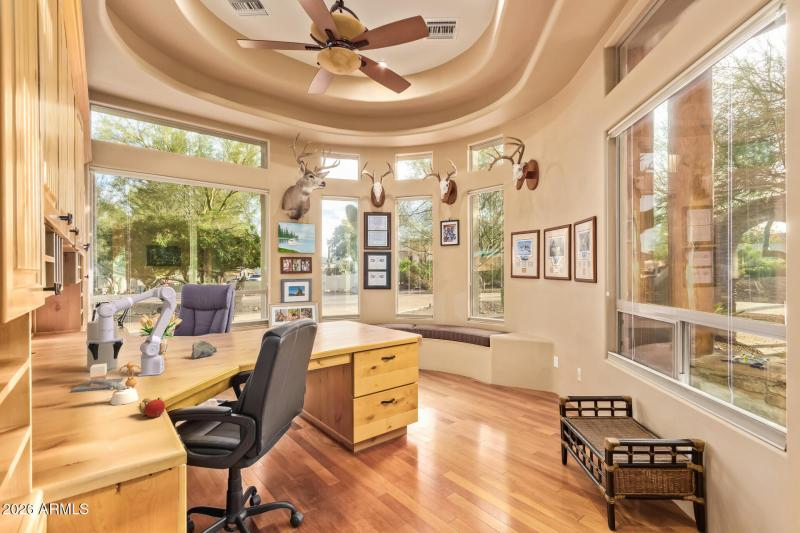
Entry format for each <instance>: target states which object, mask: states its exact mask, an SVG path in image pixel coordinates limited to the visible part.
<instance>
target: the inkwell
mask: <svg viewBox="0 0 800 533" xmlns="http://www.w3.org/2000/svg"><path fill="white" fill-rule="evenodd" d="M108 379H109V378H106V379H94V380H87V382H86V381H85V382H83V383H84V384H83V383H81V384H82V385H85V384H99V385H107V386H109V387H113V388H112V389H115V390H116V391H114V392H113V393H112V396H111V398H110V402H109V404H110V405H111V404H112V406H122V404H124V405H128V403H129V404H132V403H136V402H137V401H138V400H139V399H140V397H139V395H138V394H139V393H138V391H137V389H136V388H135V387H126V386H124V385H123V384H121V382H120V383H118V382H115V381H112V380H108ZM131 402H132V403H131Z"/></svg>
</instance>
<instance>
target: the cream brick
mask: <svg viewBox="0 0 800 533" xmlns="http://www.w3.org/2000/svg"><path fill="white" fill-rule="evenodd" d="M107 372H108V370H107V363H105V364H96V365H92V366H91V368H90V372H89V373H90V375H89V376H90V377H93V376H102V375H105V374H106V375H107Z"/></svg>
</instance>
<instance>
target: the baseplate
mask: <svg viewBox="0 0 800 533" xmlns="http://www.w3.org/2000/svg"><path fill="white" fill-rule="evenodd" d="M107 379H108V380H112V381H115V382H118V383H119V382H120V383H121V382H123V381H124V378H123V377H119V378H107ZM122 380H123V381H122ZM87 381H88V380H87ZM87 381H85V382H87ZM85 382H83V383H81V384H79V385H78V386H76V387H73V388H71V389H70V393H79V392H80V393H81V392H93V391H94V390H95V391H105V390H104V389H107V390H111V389H113V388H112V387H109V386H107V385H97V386H90V384H85V385H82V384H84V383H85Z"/></svg>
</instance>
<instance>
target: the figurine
mask: <svg viewBox="0 0 800 533" xmlns="http://www.w3.org/2000/svg"><path fill="white" fill-rule="evenodd" d="M133 367H137V369H139V370H140V372H141V371H142V370H141V366H139V365H137V364H133V363H132V361H131V360H129V361H128V363H127V364H124V365H123V366H121V367H120V368H119V370H118V374H120V373H121V371H122V369H123V368H127V369H126V374H127V380H126V381H125V387H132V388H135V387H136V385H137V380H136V379H135V378H134V374H135V370H134V369H133ZM130 373H131V378H130Z"/></svg>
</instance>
